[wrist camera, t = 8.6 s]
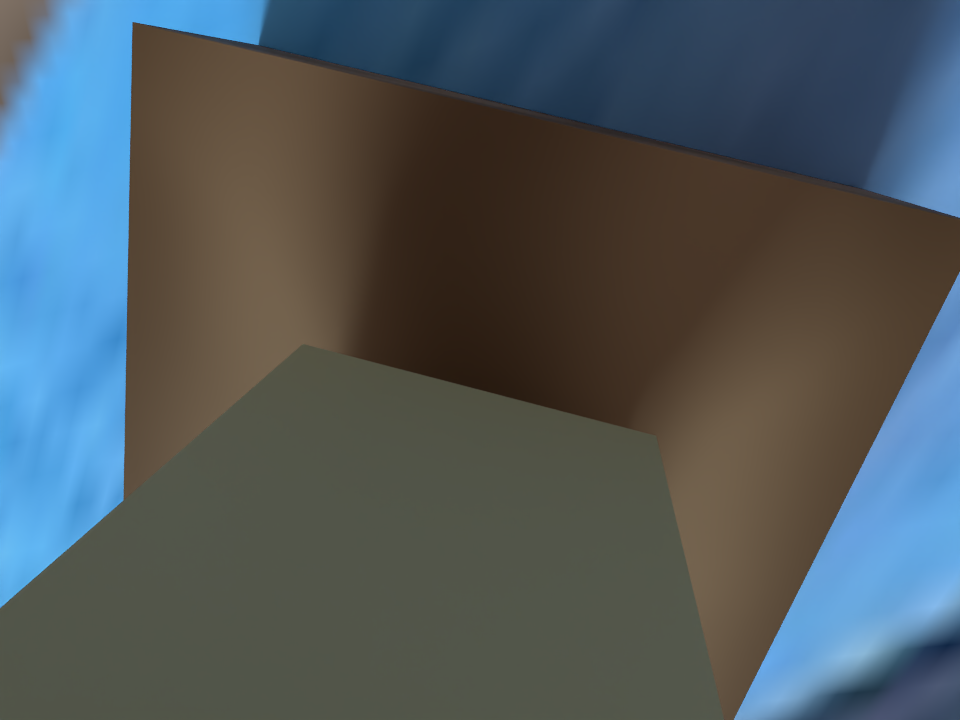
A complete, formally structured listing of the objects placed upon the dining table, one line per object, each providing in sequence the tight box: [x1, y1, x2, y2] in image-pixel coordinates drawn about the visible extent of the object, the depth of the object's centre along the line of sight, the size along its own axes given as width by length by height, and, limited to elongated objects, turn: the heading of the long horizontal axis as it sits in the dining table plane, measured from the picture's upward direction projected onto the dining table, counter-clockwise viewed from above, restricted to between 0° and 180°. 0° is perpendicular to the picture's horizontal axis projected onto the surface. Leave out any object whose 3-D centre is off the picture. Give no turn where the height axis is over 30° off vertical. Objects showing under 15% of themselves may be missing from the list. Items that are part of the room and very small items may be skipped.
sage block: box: [0, 344, 724, 720], centre depth 7 cm, size 5×5×6 cm
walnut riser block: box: [124, 22, 960, 720], centre depth 13 cm, size 12×12×4 cm
